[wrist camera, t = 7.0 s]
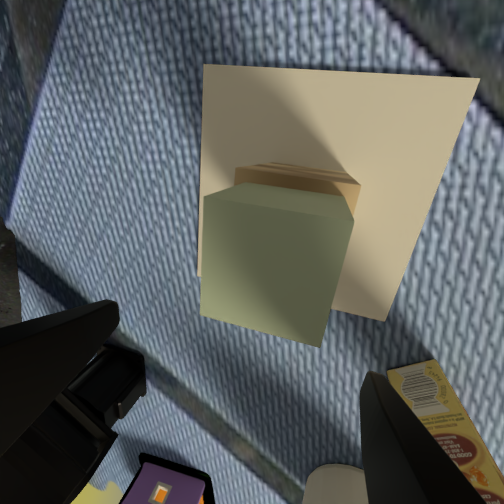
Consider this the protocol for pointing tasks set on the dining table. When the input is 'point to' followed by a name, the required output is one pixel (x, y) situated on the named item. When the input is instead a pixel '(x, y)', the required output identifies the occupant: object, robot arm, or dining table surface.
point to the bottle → (336, 485)
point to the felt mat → (341, 153)
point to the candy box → (449, 425)
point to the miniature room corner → (168, 484)
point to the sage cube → (273, 258)
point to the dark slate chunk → (8, 279)
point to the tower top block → (301, 181)
